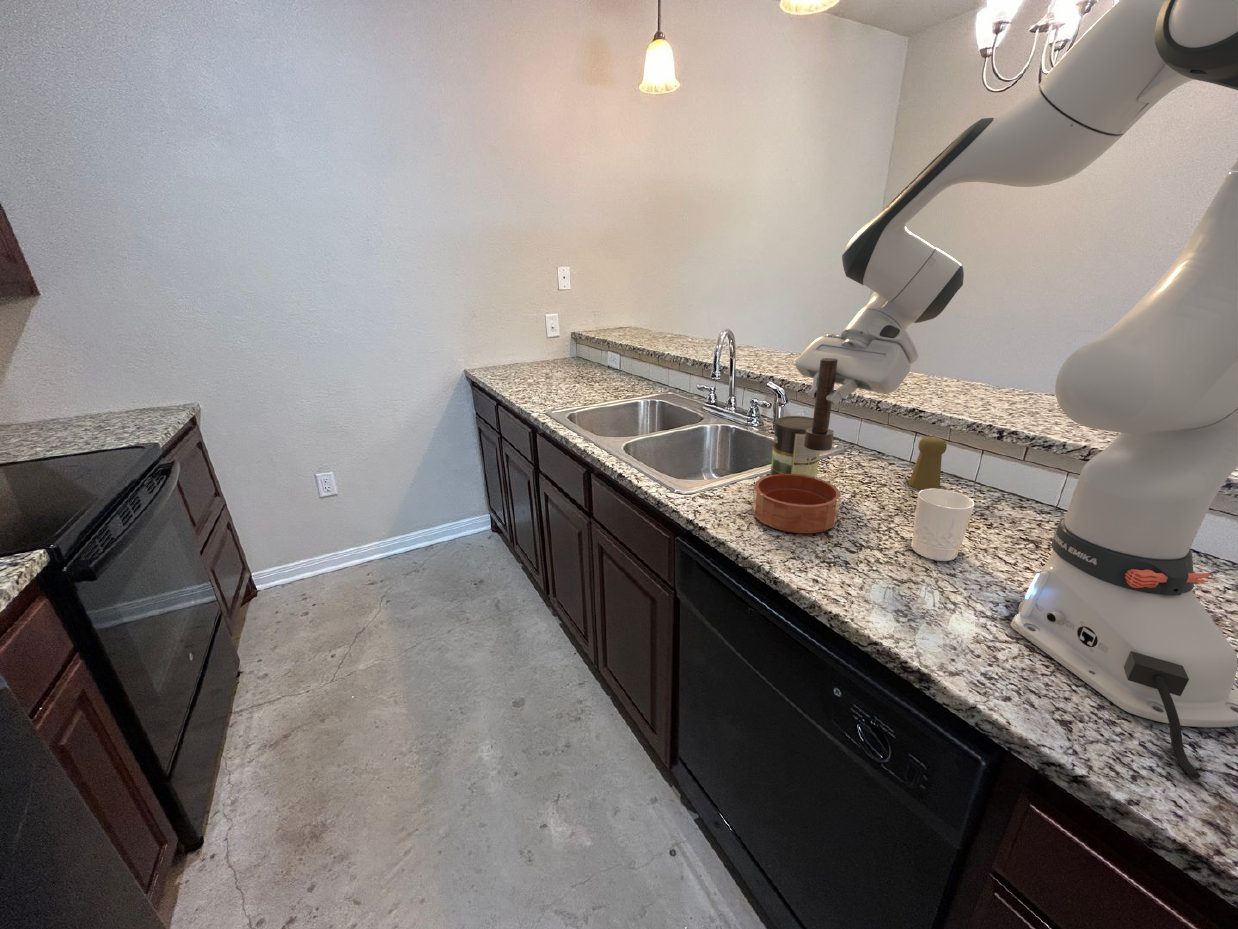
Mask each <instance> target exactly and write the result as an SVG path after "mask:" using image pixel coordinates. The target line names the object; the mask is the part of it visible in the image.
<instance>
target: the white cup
mask: <svg viewBox="0 0 1238 929" xmlns="http://www.w3.org/2000/svg"><path fill="white" fill-rule="evenodd" d="M916 498H917V499H916V504H915V505H916V506H915V510H914V518H913V527H912V528H913V529H912V536H911V537H912V538H911V544H910V545H911V549H912V550H913V551H914V552H915V553H916V554H918V555H919V556H922V557H924V558H926V559H929V560H933V561H939V562H948V561H954V560H955V559H956V558H957V557H958V556H959V552H960V548H961V545H962V543H963V541H964V538H965V536H966V533H967V530H968V526H969V524H970V521H971V518H972V515H973V512H974V508H975V505H976V503H975V501H974V499H972V498H971V497H969V496H967V495H965V494H963V493H961V492H957V491H954V490H950V489H943V488H940V489H924V490H920V491H918V492H917V497H916Z"/></svg>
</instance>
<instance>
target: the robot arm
mask: <svg viewBox="0 0 1238 929" xmlns="http://www.w3.org/2000/svg"><path fill="white" fill-rule="evenodd" d="M1191 81H1198V82H1205V83H1209V84H1213V85H1216V86H1217V85H1218V86H1220V87H1224V88H1228V89H1232V90H1235V91H1238V0H1118V1H1117V2H1116V3H1115V4H1113V5H1112V7H1111V8H1109V9H1108V10H1107V11H1106V12H1105V13H1103V15H1102V16H1101V17H1099V19H1098V20H1097V21H1096V22H1095V23H1094V24H1093V25H1092V26H1091V27H1090V28H1088V30H1086V31H1085V33H1084V34H1083V35H1082V36H1081V37H1080V38H1079V39H1078V40H1077V41H1076V42H1075V43H1074V44H1073V45H1072V46H1071V47H1070V48H1069V49H1068V50H1067V51H1066V52H1065V54H1064V55H1063V56H1062V57H1061V58H1060V59H1059V60H1058V61H1057V63H1056V64H1055V65H1054V66H1053V67H1051V69H1050V71H1049V72H1048V73H1047V74H1046V75H1045V76H1044V78H1042V80H1041V81H1040V82H1039V84H1038V85H1037V86H1036V87H1035V88H1034V89H1033V90H1032V91H1031V93H1029V95H1027V96H1026V97H1025V98H1024V99H1023V100H1021V101H1020V102H1019V103H1018V104H1016V105H1015V106H1014V107H1012V108H1010V109H1009V110H1007V111H1006V112H1004V113H1002V114H1000V115H998V116H996V117H983V118H980V119H979V120H977V121H976V122H974V123H973V124H972V125H970V126H968V128H967V129H965V130H964V131H963V132H961V133H960V134H959V135H958V136H957V137H956V138H955V139H953V141H951V143H950V144H948V146H947V147H945V149H943V151H942V152H940V153H939V154H938V155H936V156H935V158H934V159H933V160H931V162H929V163H928V165H926V166H925V167H924V168H923V169H922V170H921V171H920V172H919V173H918V174H917V176H915V178H913V180H912V181H910V182H909V183H908V184H907V186H906V187H905V188H904V189H902V190H901V191H900V192H899V193H898V195H897V196H895V197H894V198H893V200H892V201H891V202H890V203H889V204H888V205H887V206H886V207H884V209H883V210H882V211H881V212H880V213H879V214H878V215H876V216H875V217H873V218H872V219H871V220H870V221H868V222H867V223H866V224H864V225H863V226H862V227H861V228H859V229H858V230H857V232H856V233H854V235H852V237H851V239H850V240H849V241H848V243H847V244H846V247H844V250H843V253H842V255H841V261H842V267H843V272H844V275H845V277H846V278H848V279H850V280H851V281H853V282H856V283H858V284H859V285H861V286H865V287H866V288H868V289H869V290H871V291H872V293H871V295H870V297H869V300H868V302H867V303H866V305H864V306H863V307H861V308H860V309H859V310H858V311H857V313H856V314H855V315H854V316H853V318H852V319H851V320H850V322H849V323H848V324H847V325H846V327H845V328H844V329H843V330H842V332H841V334H834V333H827V334H826V335H823V336H819V337H818V338H816V339H815V340H813V341H812V342H811V343H810V344H809V345H808V346H807V347H806V348H805V349H804V350H803V351H802V353H801V354H799V356H798V357H797V358H796V360H795V368H796V369H797V371H798V372H799V373H800V375H801V376H803V377H806V378H811V379H813V381H812V385H811V386H812V387H811V388H810V389H809V390H808V391H807V396H808V397H809V398H810V399H812V400H815V399H816V391H817V383H818V375H819V366H820V359H823V358H833V359H837V360H838V362H837V369H836V377H835V384H839V385H841V386H840V387H838V388H837V389H835V390H834V391H832V390H831V391H830V393H829V395H827V396H826V400H827V401H828V403H831V404H832V405H835V406H836V405H838V404H839V403H840V402H841V400H842V399H844V398H846V397H847V396H849V395H851V394H853V393H854V392H855V391H856V390H857V389H861V390H865V391H869V392H873V393H877V394H883V395H889V394H891V393H893V392H895V391H896V390H898V388H899V387H901V386H900V385H901V384H902V383H903V382H904V380H905V379H906V377H907V376H908V374H909V373H910V371H911V367H912V366H911V365H912V364H914V363H915V362H916V361H917V360H918V358H919V353H918V350H917V348H916V346H915V343H914V341H913V340H912V338H911V336H910V335H909V333H908V332H907V331H906V330H907V328H908V327H909V326H910V325H912V324H913V323H914V324H919V323H923V322H927V321H930V320H933V319H935V318H937V317H938V316H939V315H941V313H942V312H943V311H945V309H946V308H947V306H948V305H949V303H950V302H951V301H952V299H953V298H954V296H956V294H957V292H958V291H959V290H960V289H961V288H962V287H963V285H964V277H965V275H964V274H965V272H964V267H963V266H964V265H963V264H961V263H960V262H959V261H958V260H956V259H955V258H954V257H953V256H951V255H949V254H948V253H946V252H944V251H943V250H941V249H940V248H938V247H935V246H933V245H932V244H931V243H929V242H927V241H926V240H925V239H923V238H921V237H920V236H918V235H917V234H915V233H913V232H911V231H910V230H909V229H908V228H907V223H908V222H910V221H911V220H912V219H913V218H914V217H915V216H916V215H917V214H919V213H920V212H921V211H922V210H923V209H924V208H925V207H926V206H927V205H928V204H929V203H930V202H932V201H933V199H934V198H936V197H937V196H938V195H939V194H941V193H942V192H943V191H944V190H945V189H948V188H949V187H951V186H954V185H958V184H963V183H987V184H996V185H1001V186H1002V185H1003V186H1008V187H1016V188H1034V187H1043V186H1047V185H1053V184H1056V183H1060V182H1062V181H1065V180H1067V179H1070V178H1072V177H1074V176H1076V175H1078V174H1079V173H1081V172H1083V171H1084V170H1085V169H1087V167H1089V166H1090V165H1091V164H1092V163H1094V162H1095V161H1097V159H1099V158H1100V157H1101V156H1102V155H1103V154H1105V153H1106V152H1107V151H1108V150H1109V149H1110V148H1111V147H1112V146H1113V145H1115V143H1116V142H1118V141H1119V140H1121V138H1122V137H1123V136H1124V135H1125V134H1126V133H1127V132H1128V131H1129V130H1130V129H1131V128H1132V127H1133V126H1134V125H1135V124H1137V122H1138V121H1139V120H1140V119H1142V117H1143V116H1145V114H1147V113H1148V112H1149V111H1150V110H1151V109H1152V108H1153V107H1154V106H1155V105H1156V104H1158V102H1159V101H1161V100H1162V99H1164V97H1165V96H1167V95H1168V94H1170V93H1171V92H1172V91H1174V90H1176V89H1177V88H1179V87H1181V86H1183V85H1184V84H1186V83H1189V82H1191ZM1233 163H1234V164H1232V166H1231V168H1230V171H1229V172H1228V173H1227V174H1226V176H1225V179H1224V180H1223V181H1222V184H1221V186H1220V187H1219V189H1218V191H1217V192H1216V194H1215V196H1214V197H1213V199H1212V201H1211V202H1210V204H1209V206H1208V207H1207V209H1206V211H1205V213H1203V216H1202V217H1201V219H1200V221H1199V223H1198V224H1197V226H1196V227H1195V229H1194V230H1193V232H1192V234H1191V236H1190V237H1189V238H1188V240H1187V242H1186V244H1185V246H1184V247H1183V248H1182V250H1181V252H1180V253H1179V254H1178V256H1177V257H1176V258H1175V260H1174V261H1173V262H1172V264H1171V265H1170V266H1169V267H1168V269H1167V270H1166V271H1165V272H1164V274H1163V275H1162V276H1161V277H1160V278H1159V280H1157V282H1156V283H1154V285H1153V286H1151V288H1150V289H1149V290H1148V291H1147V293H1146V294H1144V295H1143V297H1142V298H1140V299H1139V301H1138V302H1137V303H1136V304H1135V305H1133V307H1132V308H1131V309H1130V310H1129V311H1128V312H1127V313H1125V315H1123V317H1121V319H1119V320H1118V321H1117V322H1116V323H1114V325H1112V327H1110V328H1109V329H1108V330H1106V331H1105V332H1103V333H1102V334H1100V335H1099V336H1098V337H1096V338H1094V339H1092V340H1091V341H1090V342H1088V343H1086V344H1084V345H1082V346H1081V347H1078V348H1077V349H1076V350H1074V351H1073V352H1072V353H1071V354H1070V355H1069V356H1068V357H1067V358H1066V359H1065V361H1064V362H1063V363H1062V365H1061V367H1060V369H1059V370H1058V372H1057V375H1056V379H1055V386H1054V387H1055V397H1056V401H1057V403H1058V405H1059V408H1060V409H1061V411H1062V412H1063V414H1064V415H1065V416H1066V417H1067V418H1069V419H1070V420H1071V421H1072V422H1074V423H1076V424H1077V425H1080V426H1082V427H1085V428H1089V429H1095V430H1100V431H1104V432H1113V433H1120V434H1119V435H1117V437H1116V438H1115V439H1114V440H1113V441H1112V442H1111V443H1110V444H1109V445H1108V446H1107V447H1106V448H1104V449H1103V450H1102V451H1101V452H1099V453H1098V454H1096V455H1094V456H1093V457H1092V458H1090V459H1089V460H1088V461H1087V462H1086V463H1085V464H1084V466H1083V467H1082V469H1081V470H1080V473H1079V476H1078V478H1077V481H1076V485H1075V487H1074V490H1073V492H1072V493H1073V494H1072V496H1071V499H1070V503H1069V505H1068V508H1067V510H1066V511H1067V512H1066V513H1065V517H1063V518H1062V519H1060V520H1059V523H1058V525H1057V527H1056V529H1054V532H1053V538H1052V541H1051V549H1052V551H1051V553H1050V555H1049V558H1048V560H1047V561H1046V563H1045V564H1044V566H1043V567H1042V569H1041V570H1040V573H1039V572H1038V573H1036V574H1035V576H1034V578H1033V580H1032V582H1031V583H1030V586H1028V589H1027V591H1026V593H1025V596H1024V598H1023V599H1022V600H1021V601H1020V603H1019V605H1018V613H1017V614H1016V615H1014V616H1013V618H1012V619H1011V622H1010V627H1011V628H1012V629H1013V630H1014V631H1015V632H1017V633H1018V634H1019V635H1021V636H1022V637H1023V638H1024V639H1026V640H1027V641H1029V642H1030V643H1031V644H1033V645H1034V646H1036V647H1037V648H1039V649H1040V650H1041V651H1042V652H1044V653H1045V654H1047V655H1048V656H1049V657H1051V658H1052V659H1053V660H1055V661H1056V662H1057V663H1059V664H1060V665H1061V666H1063V667H1064V668H1065V669H1067V670H1068V671H1069V672H1070V673H1072V674H1074V675H1075V676H1076V677H1077V678H1079V679H1080V680H1082V682H1084V683H1086V684H1087V685H1088V686H1090V687H1091V688H1092V689H1094V690H1095V691H1096V692H1098V693H1099V694H1100V695H1102V696H1103V697H1105V698H1106V699H1107V700H1108V701H1110V702H1111V703H1113V705H1115V706H1117V707H1118V708H1120V709H1121V710H1123V711H1125V712H1126V713H1128V714H1132V715H1134V716H1137V717H1141V718H1143V719H1147V720H1152V721H1155V722H1160V723H1162V724H1163V723H1164V724H1168V725H1169V735H1170V743H1171V748H1172V751H1173V754H1174V757H1175V759H1176V761H1177V763H1178V764H1179V766H1180V767H1181V769H1183V771H1184V772H1185V773H1186V775H1188V777H1189V778H1191V779H1193V780H1197V779H1200V778H1201V774H1200V772H1199V771H1198V770H1197V769H1196V768H1195V767H1194V766H1193V765H1192V764H1191V762H1190V760H1189V759H1188V757H1187V754H1186V752H1185V748H1184V742H1183V733H1182V727H1191V728H1232V727H1233V728H1234V727H1238V687H1237V686H1236V685H1235V684H1234V683H1235V679H1236V675H1237V671H1238V655H1237V652H1236V650H1235V649H1234V647H1233V646H1232V645H1231V644H1230V642H1229V641H1228V640H1227V638H1226V637H1225V635H1224V631H1223V630H1222V628H1221V627H1220V626H1219V625H1217V624H1216V622H1215V621H1214V620H1213V618H1211V616H1210V614H1209V613H1208V611H1206V609H1205V607H1204V605H1203V604H1202V603H1201V601H1200V599H1199V598H1198V597H1197V596H1196V595H1195V593H1194V591H1193V589H1194V587H1195V583H1208V581H1209V580H1206V579H1205V578H1209V577H1212V574H1211V573H1209V572H1194V561H1193V553H1192V551H1191V547H1192V545H1193V543H1194V541H1195V539H1196V536H1197V535H1198V532H1199V530H1200V529H1201V525H1202V523H1203V522H1204V519H1205V518H1206V516H1207V514H1208V512H1209V509H1210V507H1211V505H1212V503H1213V501H1214V499H1215V497H1216V496H1217V494H1218V493H1219V491H1220V490H1221V488H1222V487H1223V485H1225V483H1226V481H1227V480H1228V479H1229V477H1230V476H1231V475H1232V474H1233V473H1234V471H1235V470H1236V469H1237V468H1238V172H1237V171H1238V157H1237V158H1236V160H1235V161H1234V162H1233ZM1231 171H1232V172H1231ZM1181 726H1182V727H1181Z"/></svg>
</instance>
